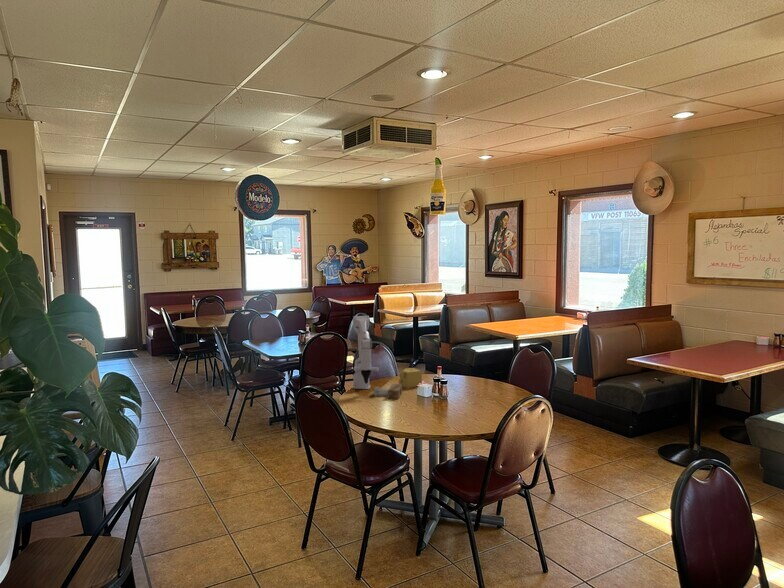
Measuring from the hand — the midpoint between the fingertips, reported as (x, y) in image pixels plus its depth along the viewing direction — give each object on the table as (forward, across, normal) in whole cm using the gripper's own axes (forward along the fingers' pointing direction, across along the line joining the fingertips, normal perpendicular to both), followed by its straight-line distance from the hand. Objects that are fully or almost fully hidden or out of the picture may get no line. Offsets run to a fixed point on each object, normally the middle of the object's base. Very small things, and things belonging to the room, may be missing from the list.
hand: (366, 383), depth 315 cm
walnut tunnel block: (+7, +17, 0) cm, 18 cm away
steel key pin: (+7, +12, 0) cm, 13 cm away
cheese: (+7, +23, +23) cm, 34 cm away
